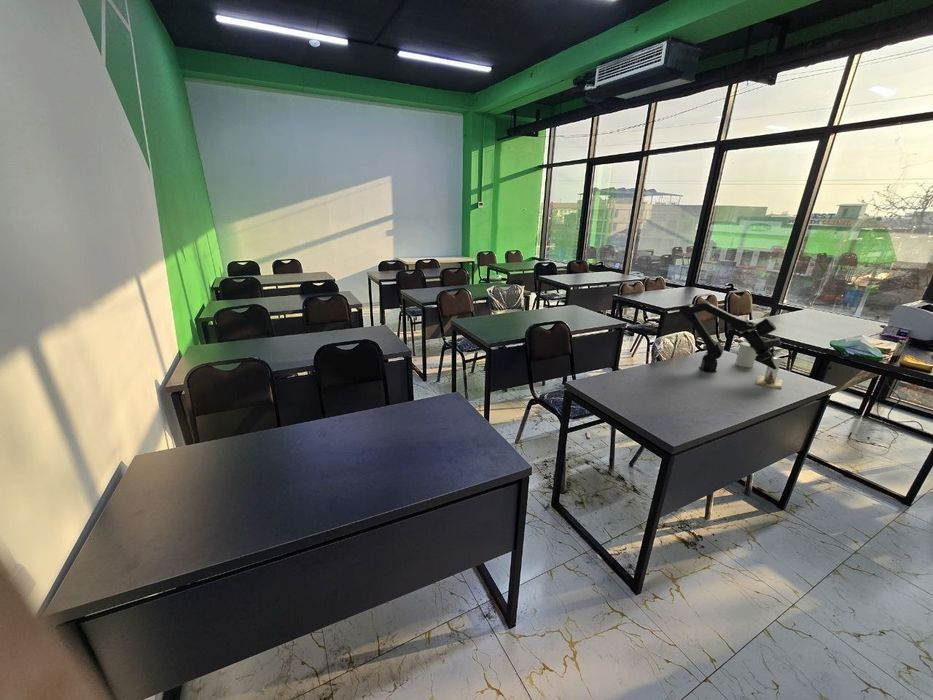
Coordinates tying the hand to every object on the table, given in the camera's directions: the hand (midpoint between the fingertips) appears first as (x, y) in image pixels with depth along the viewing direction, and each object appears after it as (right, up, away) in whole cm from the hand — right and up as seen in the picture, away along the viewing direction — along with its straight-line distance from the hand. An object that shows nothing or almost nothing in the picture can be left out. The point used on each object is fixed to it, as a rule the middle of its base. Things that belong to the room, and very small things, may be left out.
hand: (776, 366), depth 194 cm
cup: (+3, 0, +27) cm, 27 cm away
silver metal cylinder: (-1, -7, +3) cm, 8 cm away
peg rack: (-1, -8, +4) cm, 9 cm away
